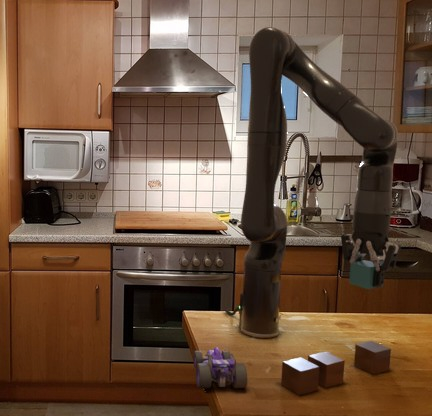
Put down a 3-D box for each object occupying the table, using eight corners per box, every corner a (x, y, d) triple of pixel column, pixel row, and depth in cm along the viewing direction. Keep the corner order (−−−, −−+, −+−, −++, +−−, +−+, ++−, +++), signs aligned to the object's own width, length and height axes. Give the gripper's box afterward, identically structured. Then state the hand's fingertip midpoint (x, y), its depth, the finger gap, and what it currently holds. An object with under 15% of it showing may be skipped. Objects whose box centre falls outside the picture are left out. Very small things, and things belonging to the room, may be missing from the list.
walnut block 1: (281, 384, 107) (282, 361, 107) (299, 379, 109) (300, 357, 109) (299, 395, 103) (300, 371, 102) (318, 390, 105) (319, 366, 104)
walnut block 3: (353, 365, 116) (355, 344, 115) (369, 361, 118) (371, 340, 118) (373, 374, 112) (375, 352, 111) (389, 370, 114) (391, 348, 113)
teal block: (349, 283, 120) (350, 262, 120) (364, 280, 123) (365, 260, 122) (368, 289, 116) (369, 267, 115) (383, 286, 118) (385, 265, 117)
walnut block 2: (306, 377, 110) (307, 355, 110) (324, 373, 112) (325, 351, 112) (325, 388, 106) (326, 364, 105) (343, 383, 108) (344, 360, 107)
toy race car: (229, 360, 119) (230, 332, 118) (247, 392, 104) (248, 361, 103) (187, 360, 119) (188, 332, 118) (199, 392, 104) (200, 361, 103)
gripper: (333, 206, 122) (329, 277, 124) (390, 215, 109) (383, 294, 111) (356, 204, 125) (351, 274, 127) (413, 213, 112) (406, 290, 115)
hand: (366, 283), depth 119 cm, fingers closed on teal block, 5 cm apart
